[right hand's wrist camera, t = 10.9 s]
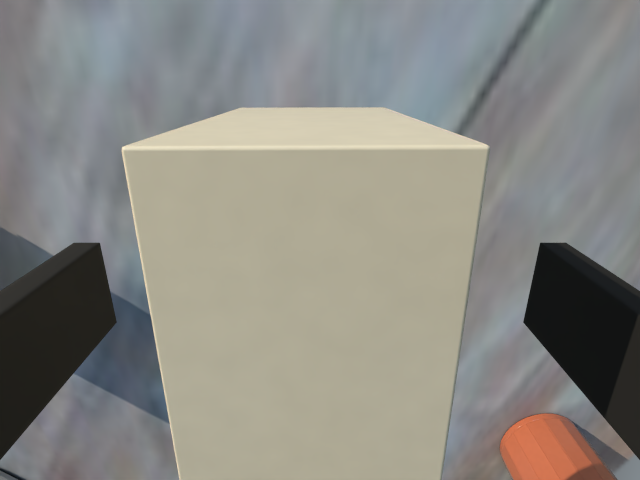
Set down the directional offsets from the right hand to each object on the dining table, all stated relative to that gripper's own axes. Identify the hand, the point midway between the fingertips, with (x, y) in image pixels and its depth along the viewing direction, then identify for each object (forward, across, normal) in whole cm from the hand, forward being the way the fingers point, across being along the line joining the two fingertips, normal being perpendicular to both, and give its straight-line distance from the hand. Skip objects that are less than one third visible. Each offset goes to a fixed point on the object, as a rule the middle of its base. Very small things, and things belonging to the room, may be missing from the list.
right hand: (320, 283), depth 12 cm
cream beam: (+3, 0, +8) cm, 9 cm away
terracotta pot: (+18, -21, +26) cm, 38 cm away
